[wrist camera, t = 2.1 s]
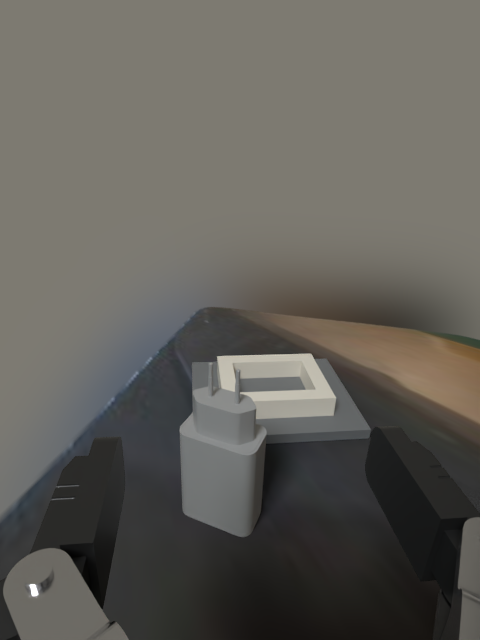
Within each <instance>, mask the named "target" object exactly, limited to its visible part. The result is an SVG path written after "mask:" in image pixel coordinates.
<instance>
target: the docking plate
mask: <svg viewBox="0 0 480 640" xmlns="http://www.w3.org/2000/svg"><path fill="white" fill-rule="evenodd" d="M209 363H210V362H195V363H192V391H194V390H195V389H199V388H204V387H208V376H209ZM212 363H213V387H218V388H222V389H225V390H229V391H233V392H235V383H236V370H237V369H239V370H240V394H244V395H247V396H249V397H251V398H252V400H253V402H254V403H255V405H256V424H259V425H261V426H263V427H264V428H265V429H266V431H267V435H266V444H275V443H294V442H312V441H331V440H349V439H368V438H369V437H370V432H371V429H370V427H369V426H368V424H367V423H366V421H365V419H364V418H363V416H362V415H361V413H360V411H359V410H358V408H357V407H356V405H355V403H354V402H353V400H352V399H351V397H350V395H349V394H348V392H347V391H346V389H345V387H344V386H343V384H342V383H341V381H340V379H339V378H338V376H337V375H336V373H335V371H334V370H333V368H332V367H331V365H330V363H329V362H328V360H327V359H314V358H313V356H312V354H282V355H246V356H217V362H212Z"/></svg>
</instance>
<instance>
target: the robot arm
mask: <svg viewBox="0 0 480 640" xmlns="http://www.w3.org/2000/svg"><path fill="white" fill-rule="evenodd" d="M365 471H366V477H367V480H368V483H369V485H370V487H371V489H372V491H373V493H374V495H375V496H376V498H377V500H378V502H379V504H380V506H381V508H382V510H383V511H384V513H385V515H386V517H387V519H388V521H389V523H390V525H391V527H392V528H393V530H394V532H395V534H396V536H397V538H398V540H399V542H400V544H401V545H402V547H403V549H404V551H405V553H406V555H407V557H408V559H409V561H410V562H411V564H412V566H413V568H414V570H415V572H416V574H417V576H418V578H419V579H420V581H430V580H436V581H437V582H438V584H439V586H440V588H441V589H440V591H439V595H438V601H437V608H436V616H435V623H434V631H433V638H432V640H480V513H479V512H478V511H477V510H476V508H475V507H474V506H473V505H472V503H471V502H470V501H469V499H468V498H467V497H466V496H465V494H464V493H463V492H462V491H461V489H460V488H459V487H458V486H457V484H456V483H455V482H454V480H453V479H452V478H451V479H450V475H449V474H448V473H447V472H446V470H445V469H444V468H442V467H441V464H440V463H439V461H438V460H437V459H436V458H435V456H434V455H433V454H432V453H431V452H430V451H429V450H427V449H426V448H425V447H423V446H422V445H421V444H419V443H418V442H417V441H416V442H411V440H410V439H409V438H408V436H407V435H406V434H405V432H404V431H403V430H402V429H401V428H400V427H399V426H387V427H375V428H374V429H373V431H372V435H371V440H370V445H369V449H368V454H367V459H366V464H365ZM124 492H125V471H124V460H123V449H122V440H121V437H101V438H95V439H94V441H93V444H92V447H91V450H90V453H89V456H75V457H74V458H73V459H72V461H71V462H70V463H69V464H68V465H67V466H66V467H65V468H64V469H63V471H62V473H61V476H60V478H59V481H58V483H57V488H55V491H54V494H53V496H52V501H50V504H49V506H48V509H47V511H46V514H45V516H44V519H43V522H42V524H41V527H40V529H39V532H38V534H37V537H36V539H35V542H34V545H33V547H32V549H31V552H30V554H29V555H28V556H26V557H25V558H23V559H22V560H21V561H19V562H18V563H17V564H16V565H15V566H14V567H13V569H12V570H11V571H10V573H9V574H8V576H7V577H6V578H4V579H3V580H1V581H0V640H129V639H128V638H127V636H126V634H125V633H124V631H123V630H122V628H121V627H120V626H119V625H118V623H116V622H115V621H113V622H112V623H111V622H110V621H109V620H108V619H107V617H106V616H105V614H104V613H103V611H102V609H103V605H104V600H105V595H106V589H107V584H108V579H109V573H110V568H111V563H112V557H113V552H114V547H115V541H116V536H117V531H118V526H119V520H120V515H121V510H122V504H123V499H124Z"/></svg>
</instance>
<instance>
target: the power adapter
mask: <svg viewBox="0 0 480 640" xmlns="http://www.w3.org/2000/svg"><path fill="white" fill-rule="evenodd" d="M266 435H267V431H266V429H265V428H264V427H263V426H261V425H259V424H256V405H255V403H254V402H253V400H252V398H251V397H249V396H247V395H244V394H240V370H239V369H237V370H236V383H235V392H233V391H229V390H225V389H222V388H218V387H213V363H212V362H210V363H209V376H208V387H204V388H199V389H195V390H194V391H193V413H192V414H191V415H190V416H189V417H188V418H187V420H186V421H185V422H184V423H183V424H182V425H181V427H180V453H181V481H182V508H183V512H184V514H185V515H187V516H189V517H191V518H194V519H196V520H199V521H201V522H204V523H206V524H209V525H211V526H214V527H216V528H219V529H221V530H223V531H226V532H228V533H231V534H233V535H236V536H239V537H246V536H248V535H250V534H251V533H252V531H253V529H254V527H255V524H256V522H257V520H258V518H259V516H260V513H261V503H262V489H263V476H264V462H265V449H266Z"/></svg>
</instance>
